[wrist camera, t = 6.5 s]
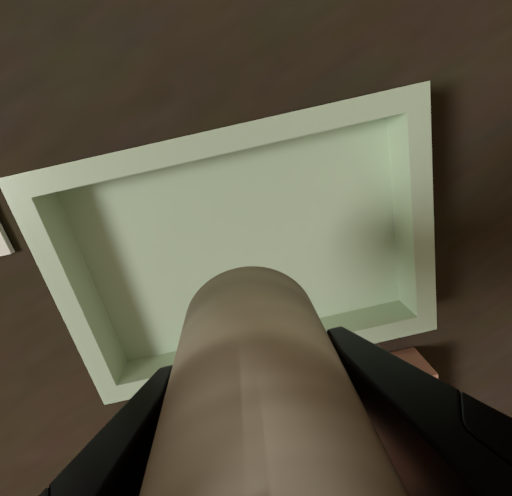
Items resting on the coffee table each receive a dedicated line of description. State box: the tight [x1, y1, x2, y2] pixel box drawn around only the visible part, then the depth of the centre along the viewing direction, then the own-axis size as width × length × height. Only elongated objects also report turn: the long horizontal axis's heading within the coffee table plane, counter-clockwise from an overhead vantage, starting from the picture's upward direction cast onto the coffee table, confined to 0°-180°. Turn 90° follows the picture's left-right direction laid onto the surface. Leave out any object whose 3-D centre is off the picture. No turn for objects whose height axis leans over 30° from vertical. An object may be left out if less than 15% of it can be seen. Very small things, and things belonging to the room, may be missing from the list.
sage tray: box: [0, 81, 437, 405], centre depth 16 cm, size 12×18×2 cm, turn 102°
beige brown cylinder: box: [139, 266, 409, 496], centre depth 6 cm, size 4×4×7 cm
